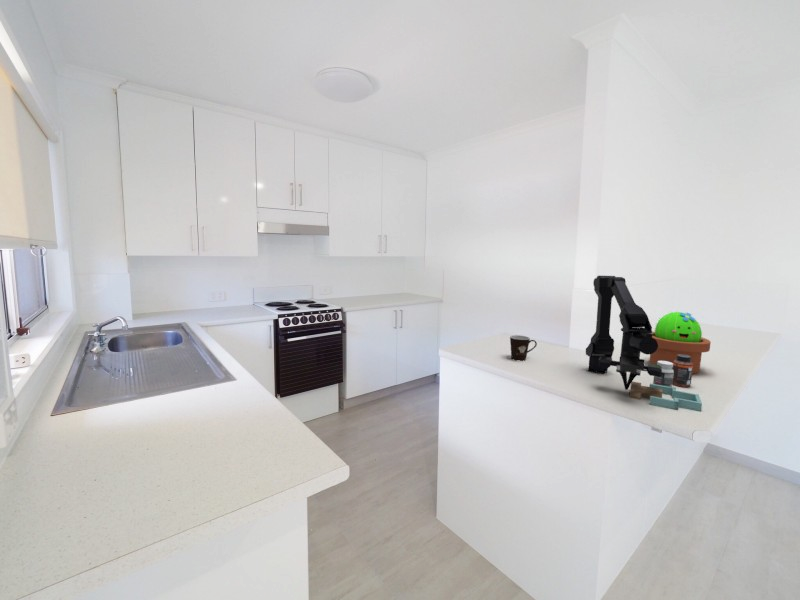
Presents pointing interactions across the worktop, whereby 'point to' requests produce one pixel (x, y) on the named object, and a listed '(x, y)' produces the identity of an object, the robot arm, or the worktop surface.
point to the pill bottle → (665, 374)
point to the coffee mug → (520, 347)
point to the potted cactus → (679, 339)
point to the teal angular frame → (676, 399)
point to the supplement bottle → (682, 371)
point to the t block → (644, 391)
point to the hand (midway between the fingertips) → (626, 389)
